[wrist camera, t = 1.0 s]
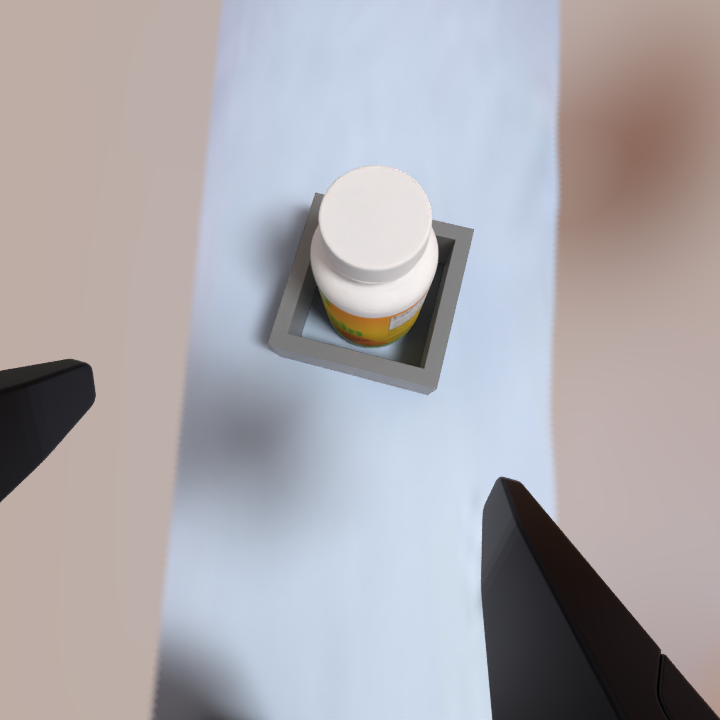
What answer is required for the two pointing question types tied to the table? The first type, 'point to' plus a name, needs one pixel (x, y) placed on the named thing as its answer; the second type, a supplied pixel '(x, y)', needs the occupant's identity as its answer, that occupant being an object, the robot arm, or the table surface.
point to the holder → (420, 380)
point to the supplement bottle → (374, 254)
